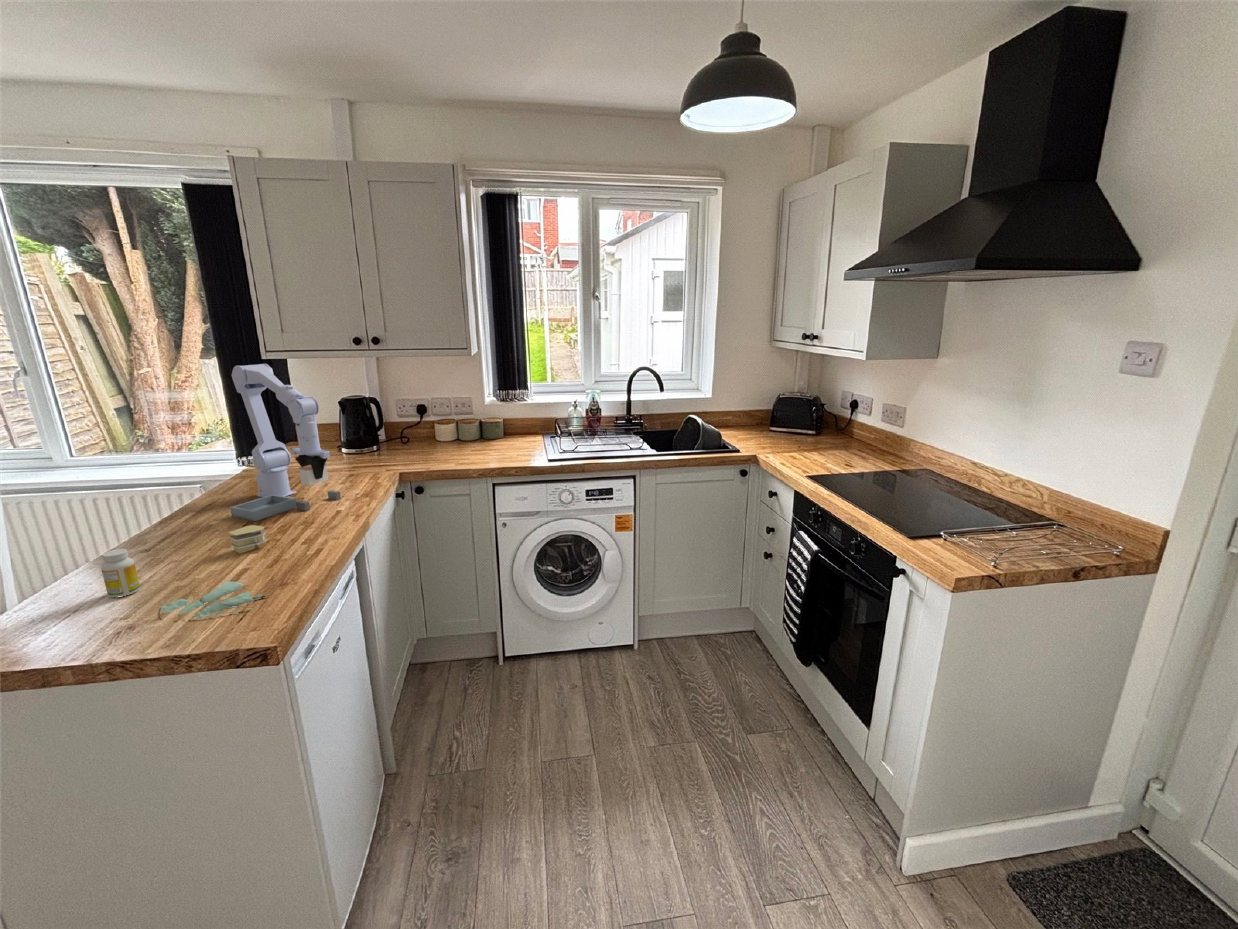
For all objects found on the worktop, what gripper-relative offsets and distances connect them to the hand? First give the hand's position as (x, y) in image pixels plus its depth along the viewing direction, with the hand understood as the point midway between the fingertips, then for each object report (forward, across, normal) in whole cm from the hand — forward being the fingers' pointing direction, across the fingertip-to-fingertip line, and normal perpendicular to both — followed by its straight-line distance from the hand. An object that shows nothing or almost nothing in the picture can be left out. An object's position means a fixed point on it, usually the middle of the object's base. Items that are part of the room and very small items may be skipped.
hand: (314, 477), depth 174 cm
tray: (+9, -9, -12) cm, 17 cm away
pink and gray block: (+1, 0, 0) cm, 1 cm away
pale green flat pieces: (+10, +37, -52) cm, 65 cm away
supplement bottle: (+9, +13, -59) cm, 61 cm away
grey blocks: (+9, 0, 0) cm, 9 cm away
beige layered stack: (+9, +15, -32) cm, 37 cm away
